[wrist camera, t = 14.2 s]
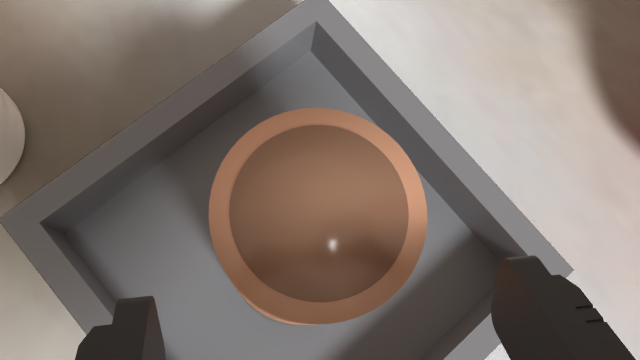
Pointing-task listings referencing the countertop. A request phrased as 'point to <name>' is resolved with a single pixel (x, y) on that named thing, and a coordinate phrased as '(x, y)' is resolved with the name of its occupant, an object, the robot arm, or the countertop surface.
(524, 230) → the charcoal tray
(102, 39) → the countertop surface
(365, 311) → the terracotta cup
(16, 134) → the drinking glass
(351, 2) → the countertop surface
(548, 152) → the countertop surface
